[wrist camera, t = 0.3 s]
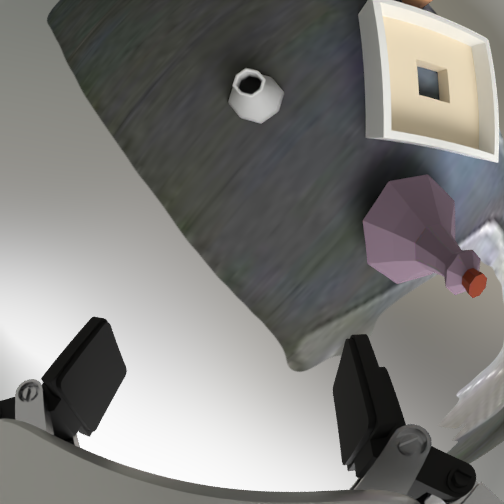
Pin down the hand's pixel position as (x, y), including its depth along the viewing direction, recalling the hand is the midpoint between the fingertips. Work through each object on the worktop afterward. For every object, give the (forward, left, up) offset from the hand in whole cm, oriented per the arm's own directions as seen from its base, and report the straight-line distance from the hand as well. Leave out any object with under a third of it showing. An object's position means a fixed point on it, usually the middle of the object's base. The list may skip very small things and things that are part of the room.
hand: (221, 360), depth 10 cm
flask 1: (-14, -1, -31) cm, 34 cm away
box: (-19, +24, -31) cm, 44 cm away
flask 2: (+3, +21, -31) cm, 38 cm away
